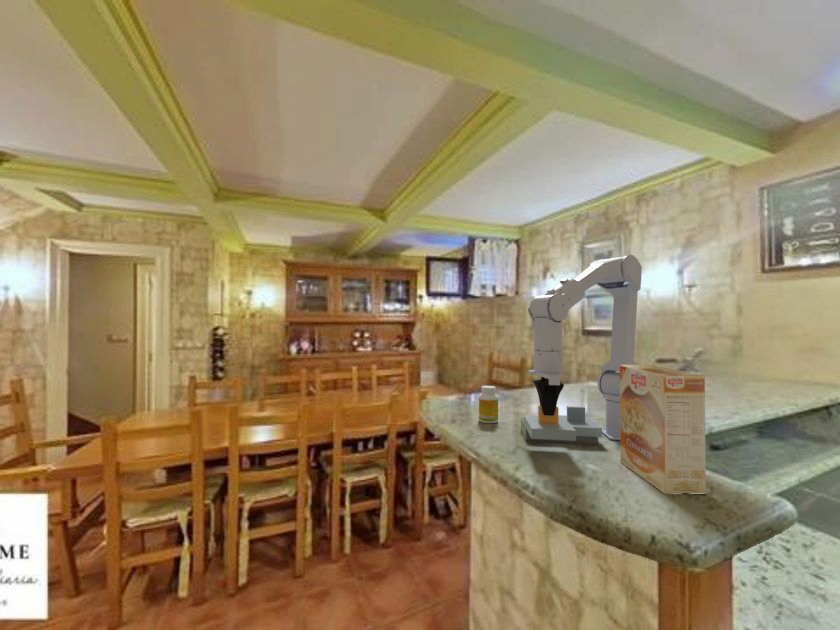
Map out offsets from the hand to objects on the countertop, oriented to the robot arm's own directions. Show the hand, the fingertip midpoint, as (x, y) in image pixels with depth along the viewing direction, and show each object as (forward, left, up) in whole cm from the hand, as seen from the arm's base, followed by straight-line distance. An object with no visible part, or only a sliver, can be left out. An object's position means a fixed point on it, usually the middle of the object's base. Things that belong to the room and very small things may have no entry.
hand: (547, 414), depth 83 cm
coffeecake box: (-17, +10, -8) cm, 22 cm away
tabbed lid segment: (0, 0, -4) cm, 4 cm away
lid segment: (-9, -13, -6) cm, 17 cm away
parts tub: (-4, -13, -8) cm, 16 cm away
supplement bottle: (+12, -26, -8) cm, 29 cm away
